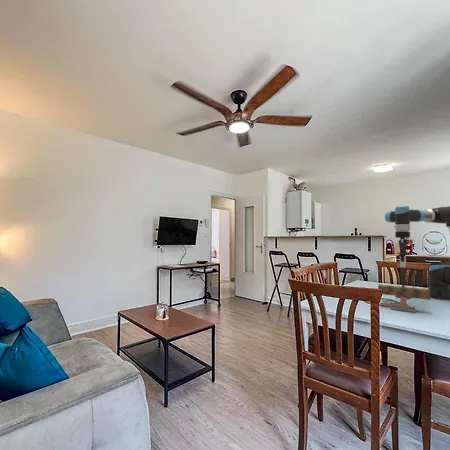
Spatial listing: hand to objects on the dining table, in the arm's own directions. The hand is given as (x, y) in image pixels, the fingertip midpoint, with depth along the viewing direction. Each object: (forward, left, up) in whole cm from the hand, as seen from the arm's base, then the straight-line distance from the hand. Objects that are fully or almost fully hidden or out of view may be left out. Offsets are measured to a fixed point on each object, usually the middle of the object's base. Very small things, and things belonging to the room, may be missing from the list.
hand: (403, 266), depth 164 cm
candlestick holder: (-22, -28, -26) cm, 44 cm away
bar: (0, 0, -18) cm, 18 cm away
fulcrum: (0, 0, -26) cm, 26 cm away
